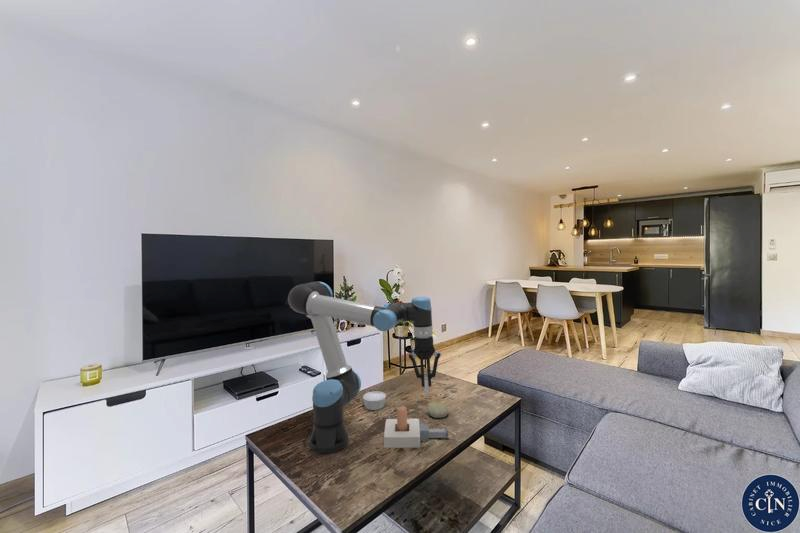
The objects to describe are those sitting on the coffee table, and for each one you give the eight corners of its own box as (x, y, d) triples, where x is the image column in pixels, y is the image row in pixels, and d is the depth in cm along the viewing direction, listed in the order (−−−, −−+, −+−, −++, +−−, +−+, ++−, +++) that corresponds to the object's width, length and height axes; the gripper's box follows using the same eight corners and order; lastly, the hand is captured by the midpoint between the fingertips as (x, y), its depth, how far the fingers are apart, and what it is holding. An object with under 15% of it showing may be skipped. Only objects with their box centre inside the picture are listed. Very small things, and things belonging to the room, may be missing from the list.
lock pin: (423, 438, 136) (422, 431, 136) (422, 434, 139) (422, 427, 139) (448, 438, 136) (448, 431, 136) (447, 433, 139) (447, 427, 139)
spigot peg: (397, 440, 136) (396, 411, 135) (397, 435, 140) (397, 406, 139) (407, 440, 136) (406, 411, 135) (407, 434, 140) (406, 406, 139)
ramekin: (386, 400, 172) (386, 390, 171) (385, 411, 161) (385, 400, 160) (364, 401, 172) (364, 391, 172) (361, 411, 161) (361, 401, 160)
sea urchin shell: (449, 416, 151) (436, 403, 151) (437, 427, 152) (424, 414, 153) (450, 406, 160) (438, 394, 160) (438, 417, 161) (426, 404, 162)
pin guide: (419, 441, 135) (419, 430, 135) (419, 433, 140) (419, 424, 140) (429, 440, 135) (428, 430, 135) (428, 433, 140) (428, 424, 140)
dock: (383, 447, 131) (383, 437, 131) (386, 428, 145) (386, 419, 145) (420, 447, 131) (420, 436, 130) (419, 428, 145) (419, 418, 144)
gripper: (406, 339, 132) (410, 399, 133) (440, 337, 131) (444, 397, 132) (407, 334, 139) (410, 391, 140) (439, 332, 139) (442, 389, 140)
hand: (427, 394), depth 136 cm, fingers closed
